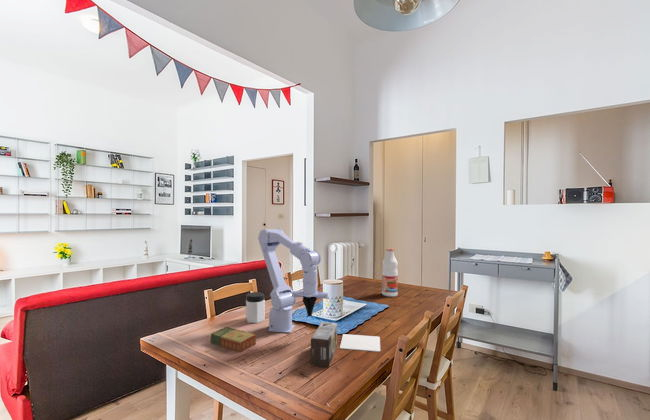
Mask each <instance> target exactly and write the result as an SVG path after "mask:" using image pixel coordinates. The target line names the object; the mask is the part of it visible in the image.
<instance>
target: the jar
mask: <svg viewBox="0 0 650 420" xmlns="http://www.w3.org/2000/svg"><path fill="white" fill-rule="evenodd" d="M245 296H246V297H245V298H246V299H245V320H246V323H249V324H258V323H261V322H264V321H265V317H266V316H265V312H266V311H265V309H266V308H265V307H266V306H265V304H266V302H265V301H266V300H265V294H264V292H261V291H253V292H248V293H247V294H246V295H245Z"/></svg>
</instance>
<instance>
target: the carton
mask: <svg viewBox="0 0 650 420" xmlns="http://www.w3.org/2000/svg"><path fill="white" fill-rule="evenodd" d="M210 343H211V344H213V345H216V346H219V347H223V348H225V349H229V350H232V351H235V352H239V353H243V352H244V351H247V350H248V349H250V348H252V347H253V346H255V345H256V344H257V335H256V334H255V333H252V332H247V331H244V330H240V329H236V328H233V327H230V326H225V327H223V328H221V329H219V330H216V331H214V332H211V333H210Z"/></svg>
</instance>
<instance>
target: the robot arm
mask: <svg viewBox="0 0 650 420" xmlns="http://www.w3.org/2000/svg"><path fill="white" fill-rule="evenodd" d="M257 240H258V243H259V245H260V249H261V252H262V256H263V259H264V262H265V265H266V268H267V271H268V274H269V278H270V281H271V284H272V287H273V289H272V290H271V292H270V294H269V296H270V299H271V301H270V303H271V306H272V307H271V308H270V310H269V314H268V318H269V319H268V332H276V333H288V334H290V333H291V332H292V330H293V329H294V328H295V324H293V308H294V305H295V304H296V302H297V298H302V303H303V304H304V306H305V311H306V314H307V317H312V316H313V311H314V307H315V304H316V302H317V300H318V299H325V300H328V299H329V292H324V291H323V292H322V291H318V265H319V264H320V263H321V255H320V253H319V252H318V250H311V249H310V248H309V247H306V246H305V245H303V242H301V241H297V242H295V241H294V240H293V239H292V238H290V237H289V236H288V235H287V234H285V231H284V230H282V229H281V228H269V229H261V230H260V231H259V233H258V237H257ZM280 244H281V245H282V246H284V247H286V248H288V249H289V253H290V254H291V256H294V257H295V258H296V259H298V261H300V265H301V270H302V290H295V291H294V290H293V289H292V286H289V284H286V280H285V279H284V275H283V273H282V269H281V265H280V263H279V260H278V256H277V254H276V250H277V248H278V247H279V245H280Z"/></svg>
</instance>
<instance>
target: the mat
mask: <svg viewBox="0 0 650 420" xmlns="http://www.w3.org/2000/svg"><path fill="white" fill-rule="evenodd" d="M339 349H340V350H351V351H352V350H353V351H365V352H375V353H376V352H377V353H381V338H380V336H377V335H376V336H375V335H374V336H373V335H363V334H348V333H347V334H346V333H343V334H342V338H341V342H340V346H339Z"/></svg>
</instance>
